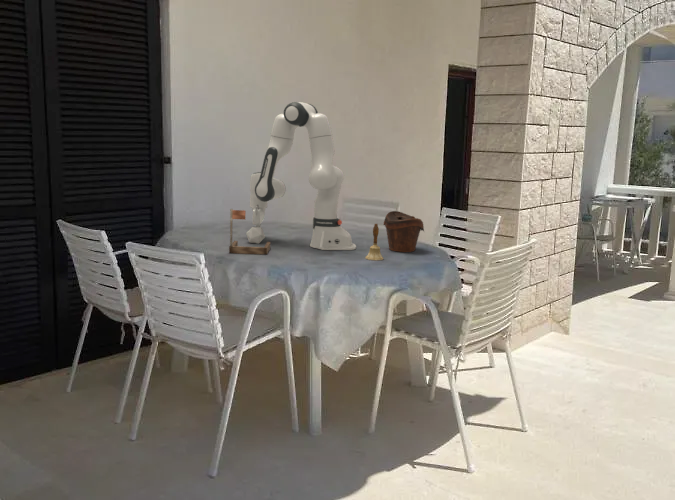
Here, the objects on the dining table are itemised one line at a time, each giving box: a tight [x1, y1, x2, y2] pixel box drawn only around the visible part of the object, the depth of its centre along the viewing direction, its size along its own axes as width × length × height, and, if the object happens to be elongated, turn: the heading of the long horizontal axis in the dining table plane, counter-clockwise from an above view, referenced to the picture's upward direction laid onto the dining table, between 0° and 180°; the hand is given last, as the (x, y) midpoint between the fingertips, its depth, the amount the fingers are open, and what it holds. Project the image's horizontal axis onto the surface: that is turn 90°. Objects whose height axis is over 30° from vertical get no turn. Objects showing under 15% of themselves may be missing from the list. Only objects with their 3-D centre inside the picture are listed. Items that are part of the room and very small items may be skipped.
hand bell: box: [364, 223, 384, 261], centre depth 301 cm, size 8×8×16 cm
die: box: [245, 226, 266, 245], centre depth 330 cm, size 8×9×10 cm
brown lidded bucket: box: [383, 210, 425, 253], centre depth 324 cm, size 18×20×18 cm
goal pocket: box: [228, 208, 271, 256], centre depth 308 cm, size 17×16×20 cm
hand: (258, 231), depth 340 cm, fingers closed
